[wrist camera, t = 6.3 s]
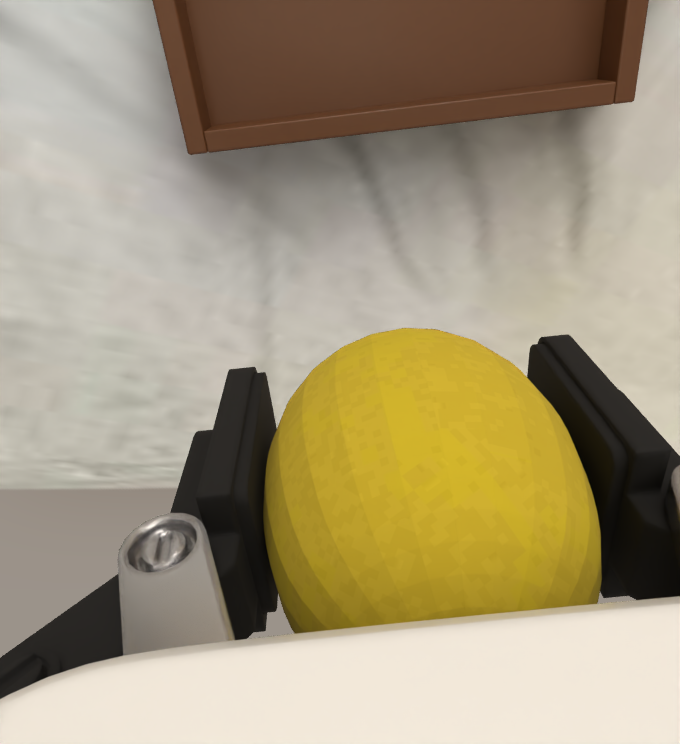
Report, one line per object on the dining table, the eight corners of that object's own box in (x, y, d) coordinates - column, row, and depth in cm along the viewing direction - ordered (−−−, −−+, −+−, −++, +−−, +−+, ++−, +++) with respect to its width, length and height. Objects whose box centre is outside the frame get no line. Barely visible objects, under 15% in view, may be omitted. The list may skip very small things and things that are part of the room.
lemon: (551, 370, 13) (800, 709, 7) (389, 499, 15) (450, 866, 8) (394, 216, 11) (517, 475, 5) (229, 386, 13) (138, 750, 6)
